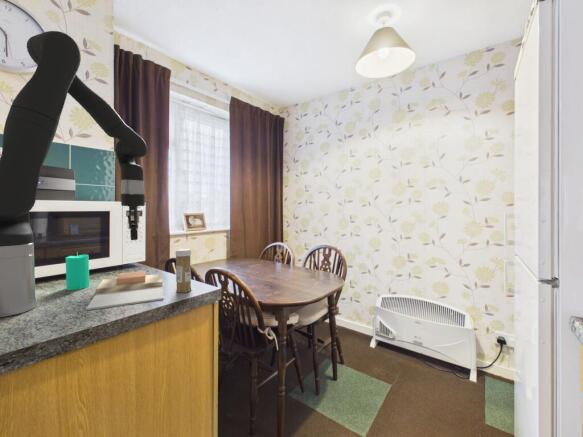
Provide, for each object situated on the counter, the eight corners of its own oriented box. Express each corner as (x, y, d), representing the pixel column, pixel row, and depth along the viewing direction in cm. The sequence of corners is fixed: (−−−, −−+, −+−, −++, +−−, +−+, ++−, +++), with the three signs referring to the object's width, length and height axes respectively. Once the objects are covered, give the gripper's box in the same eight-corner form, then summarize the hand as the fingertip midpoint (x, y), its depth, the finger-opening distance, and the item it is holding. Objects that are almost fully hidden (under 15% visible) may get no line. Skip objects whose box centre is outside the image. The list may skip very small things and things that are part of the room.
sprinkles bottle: (192, 291, 83) (192, 249, 83) (177, 294, 81) (176, 251, 80) (189, 288, 87) (189, 248, 87) (174, 290, 85) (174, 249, 84)
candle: (92, 283, 91) (91, 249, 91) (85, 288, 85) (84, 252, 85) (71, 285, 89) (70, 250, 89) (62, 290, 84) (61, 253, 83)
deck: (96, 295, 79) (96, 289, 79) (103, 285, 90) (103, 279, 90) (162, 287, 87) (162, 281, 87) (161, 278, 98) (161, 273, 98)
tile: (116, 285, 83) (116, 278, 83) (119, 279, 90) (119, 273, 90) (145, 282, 87) (145, 276, 87) (146, 276, 94) (146, 270, 94)
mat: (86, 310, 68) (86, 308, 68) (96, 295, 79) (96, 293, 79) (163, 299, 76) (163, 297, 76) (162, 287, 87) (162, 286, 87)
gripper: (122, 193, 100) (124, 238, 101) (118, 192, 89) (120, 242, 89) (145, 194, 104) (146, 237, 104) (143, 192, 92) (145, 241, 93)
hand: (134, 239), depth 97 cm, fingers closed
